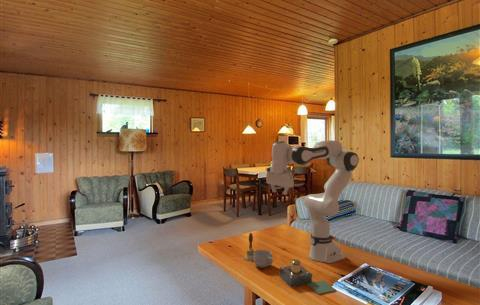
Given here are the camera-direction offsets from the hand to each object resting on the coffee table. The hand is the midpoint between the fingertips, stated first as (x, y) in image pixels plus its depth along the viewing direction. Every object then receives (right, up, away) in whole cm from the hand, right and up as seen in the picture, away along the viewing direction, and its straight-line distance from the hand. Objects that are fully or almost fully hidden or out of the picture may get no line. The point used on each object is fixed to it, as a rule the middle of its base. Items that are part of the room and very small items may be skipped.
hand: (279, 193), depth 157 cm
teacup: (-9, -43, +2) cm, 44 cm away
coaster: (+17, -44, -22) cm, 52 cm away
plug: (+6, -44, -14) cm, 46 cm away
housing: (+6, -44, -14) cm, 46 cm away
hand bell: (-16, -43, +14) cm, 48 cm away
